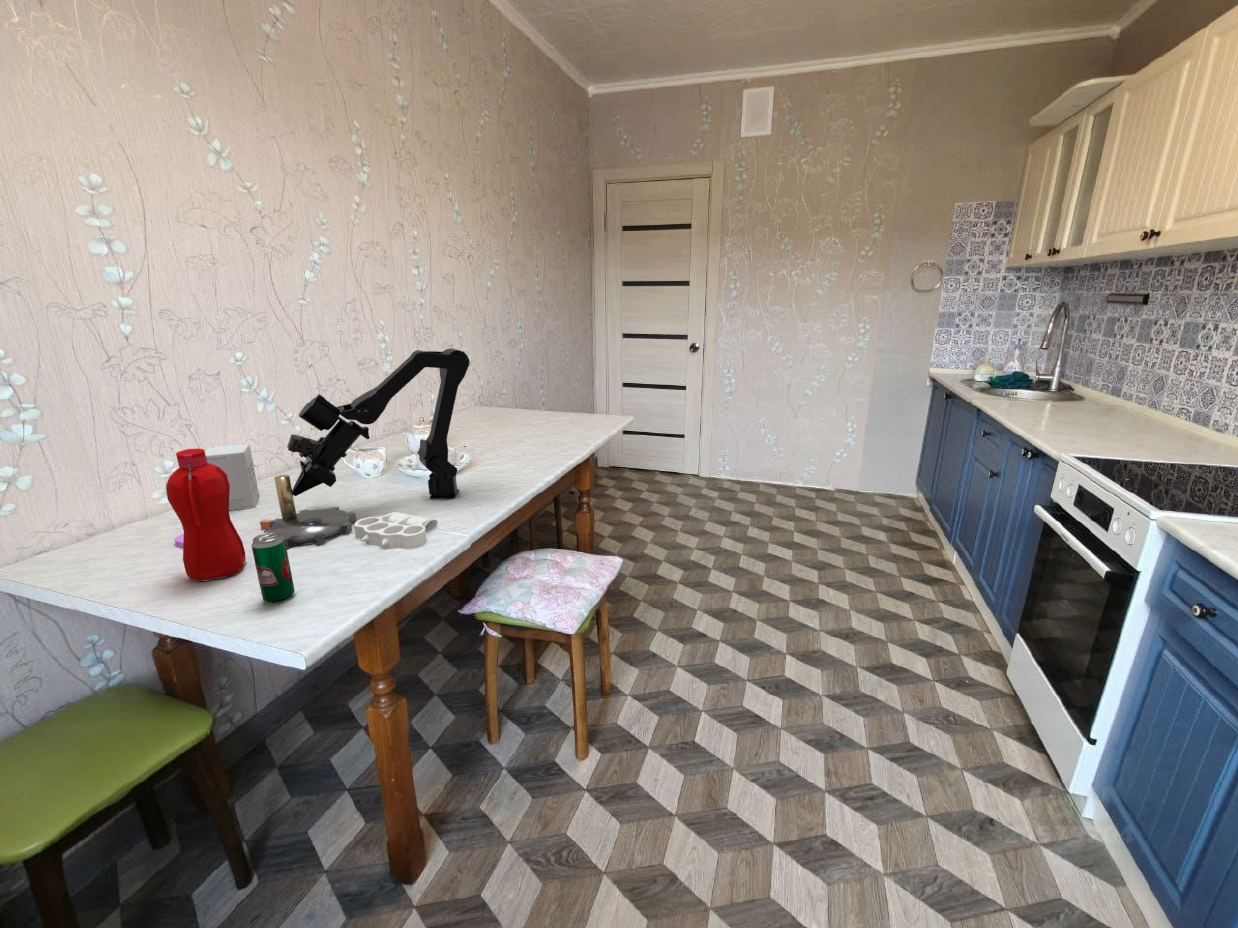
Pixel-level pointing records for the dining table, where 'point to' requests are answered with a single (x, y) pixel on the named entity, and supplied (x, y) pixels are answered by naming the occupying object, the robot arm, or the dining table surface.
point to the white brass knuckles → (395, 530)
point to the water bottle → (204, 517)
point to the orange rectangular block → (266, 524)
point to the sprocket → (307, 519)
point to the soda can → (273, 567)
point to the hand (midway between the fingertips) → (293, 494)
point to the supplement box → (237, 473)
